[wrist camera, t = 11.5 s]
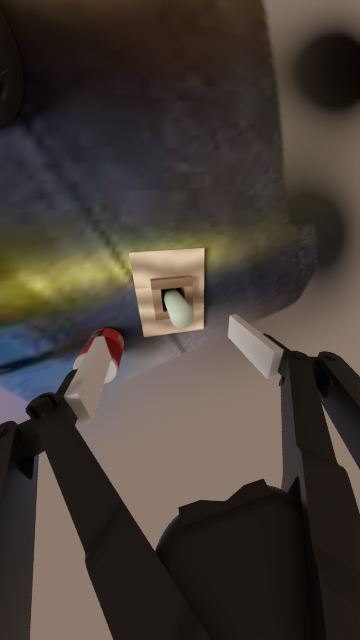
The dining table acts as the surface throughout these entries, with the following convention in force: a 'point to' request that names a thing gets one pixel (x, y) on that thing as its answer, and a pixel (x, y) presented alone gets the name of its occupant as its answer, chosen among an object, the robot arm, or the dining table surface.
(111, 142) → the dining table surface
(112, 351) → the canned food
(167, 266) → the socket board
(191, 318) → the peg
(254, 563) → the robot arm
